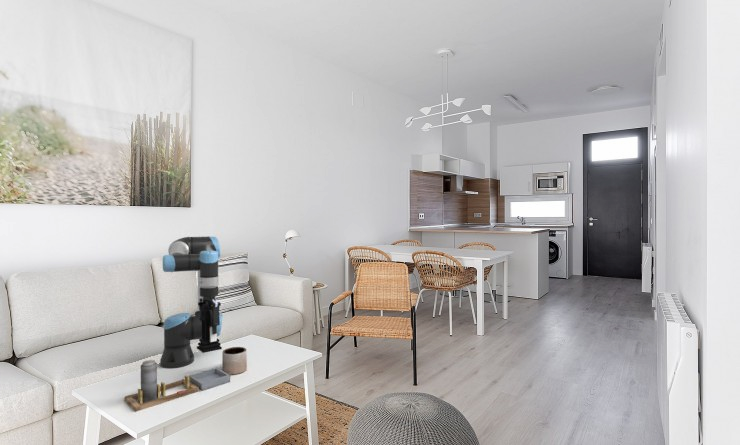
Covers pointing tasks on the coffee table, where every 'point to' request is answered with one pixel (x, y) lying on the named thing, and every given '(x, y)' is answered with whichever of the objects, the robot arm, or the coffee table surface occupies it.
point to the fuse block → (156, 388)
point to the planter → (234, 360)
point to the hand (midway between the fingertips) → (209, 339)
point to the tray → (209, 379)
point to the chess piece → (207, 331)
